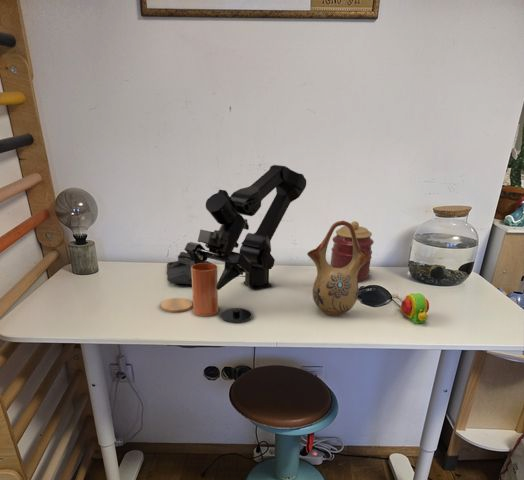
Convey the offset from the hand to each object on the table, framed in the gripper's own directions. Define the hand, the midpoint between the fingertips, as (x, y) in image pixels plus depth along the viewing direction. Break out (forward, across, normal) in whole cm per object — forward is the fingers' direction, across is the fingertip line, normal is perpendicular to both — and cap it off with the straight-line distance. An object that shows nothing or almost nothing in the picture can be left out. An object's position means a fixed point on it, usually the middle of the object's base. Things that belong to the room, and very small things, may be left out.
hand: (203, 285), depth 122 cm
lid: (+4, +9, +7) cm, 12 cm away
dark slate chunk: (-8, -23, +19) cm, 30 cm away
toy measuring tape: (-18, +44, +30) cm, 56 cm away
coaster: (+7, -9, +4) cm, 12 cm away
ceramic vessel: (-9, +28, +20) cm, 36 cm away
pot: (+5, 0, +6) cm, 8 cm away
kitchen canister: (-30, +19, +42) cm, 55 cm away
